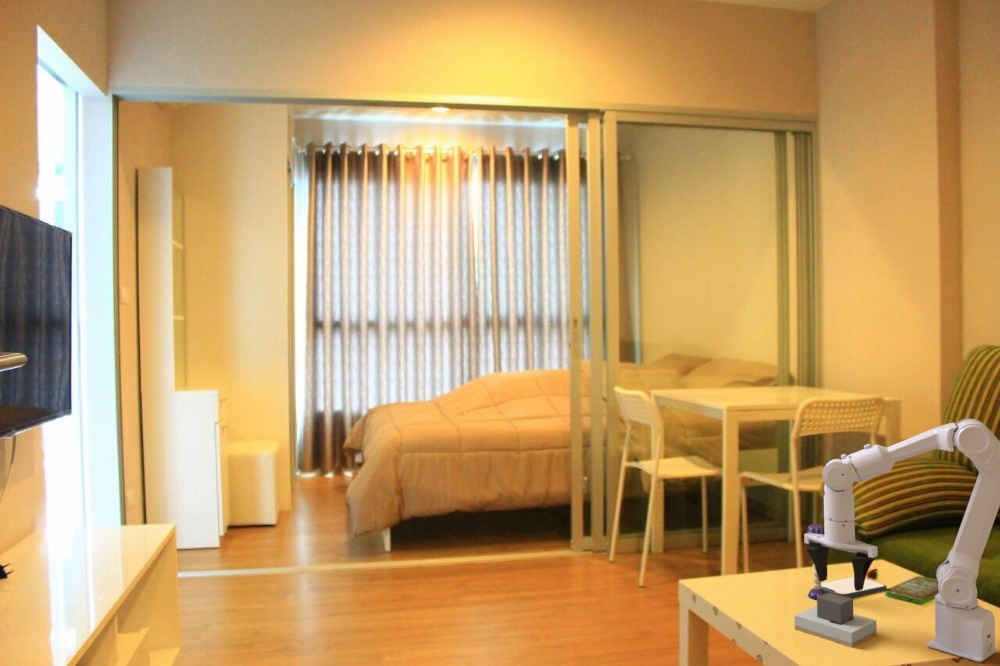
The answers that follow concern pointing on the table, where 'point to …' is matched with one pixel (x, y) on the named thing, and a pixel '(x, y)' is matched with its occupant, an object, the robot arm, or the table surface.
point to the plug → (835, 608)
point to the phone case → (852, 587)
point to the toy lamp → (817, 584)
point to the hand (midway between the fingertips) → (840, 584)
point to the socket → (836, 628)
